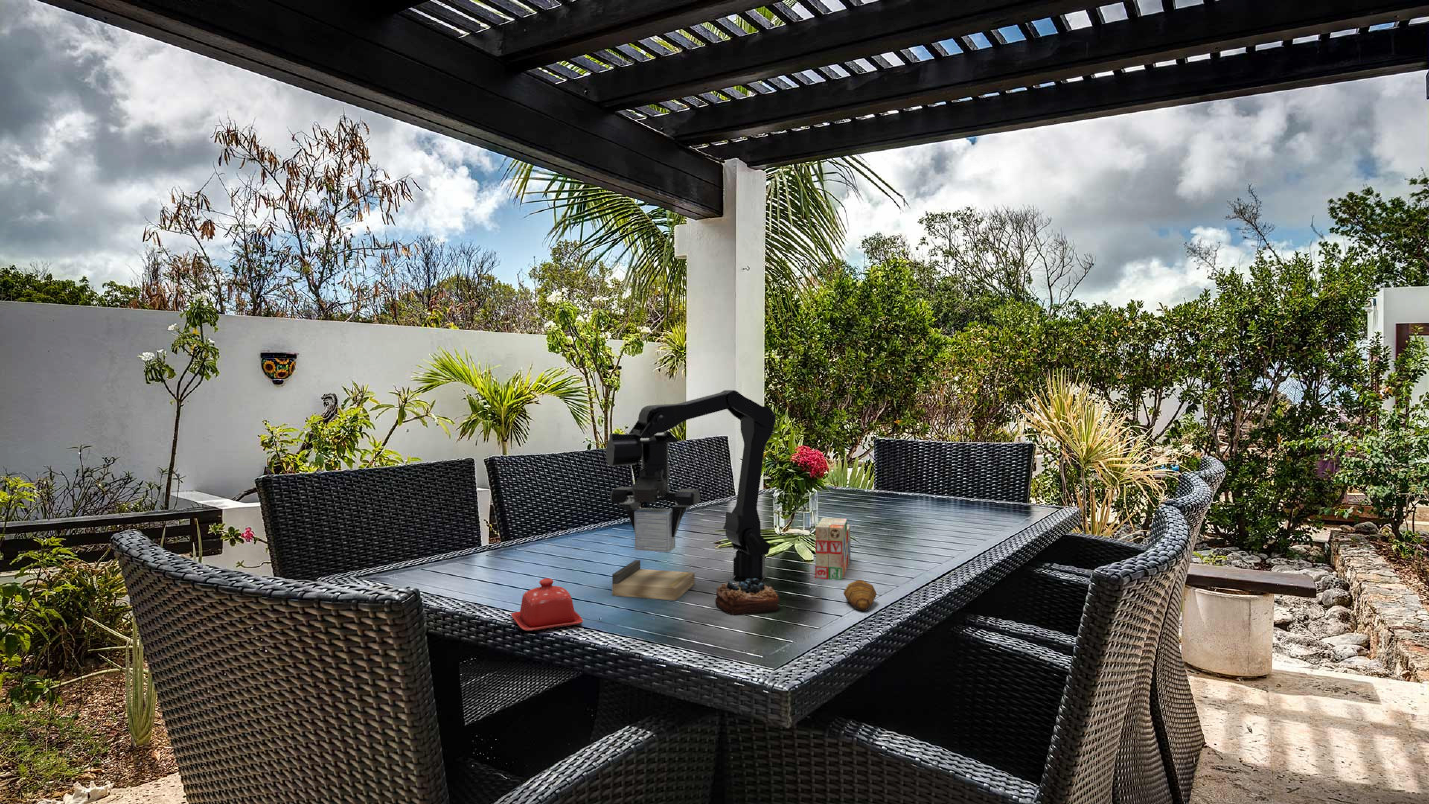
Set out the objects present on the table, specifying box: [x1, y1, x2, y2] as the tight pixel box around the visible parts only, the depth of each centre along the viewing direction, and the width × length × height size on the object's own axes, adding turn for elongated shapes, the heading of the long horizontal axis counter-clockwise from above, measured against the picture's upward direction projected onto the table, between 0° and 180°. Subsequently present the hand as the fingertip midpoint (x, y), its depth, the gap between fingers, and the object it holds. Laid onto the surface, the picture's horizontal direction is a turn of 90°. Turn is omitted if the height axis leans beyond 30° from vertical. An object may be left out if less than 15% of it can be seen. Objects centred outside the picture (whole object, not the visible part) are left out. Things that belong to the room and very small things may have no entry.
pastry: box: [714, 578, 780, 616], centre depth 161 cm, size 11×12×6 cm
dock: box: [611, 559, 696, 601], centre depth 174 cm, size 14×14×4 cm
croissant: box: [842, 579, 878, 612], centre depth 164 cm, size 14×7×5 cm, turn 176°
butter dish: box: [510, 577, 584, 632], centre depth 150 cm, size 12×12×8 cm
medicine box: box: [634, 507, 676, 553], centre depth 174 cm, size 8×4×9 cm, turn 73°
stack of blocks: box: [814, 517, 852, 581], centre depth 194 cm, size 21×6×12 cm, turn 165°
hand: (655, 535), depth 174 cm, fingers closed on medicine box, 8 cm apart
